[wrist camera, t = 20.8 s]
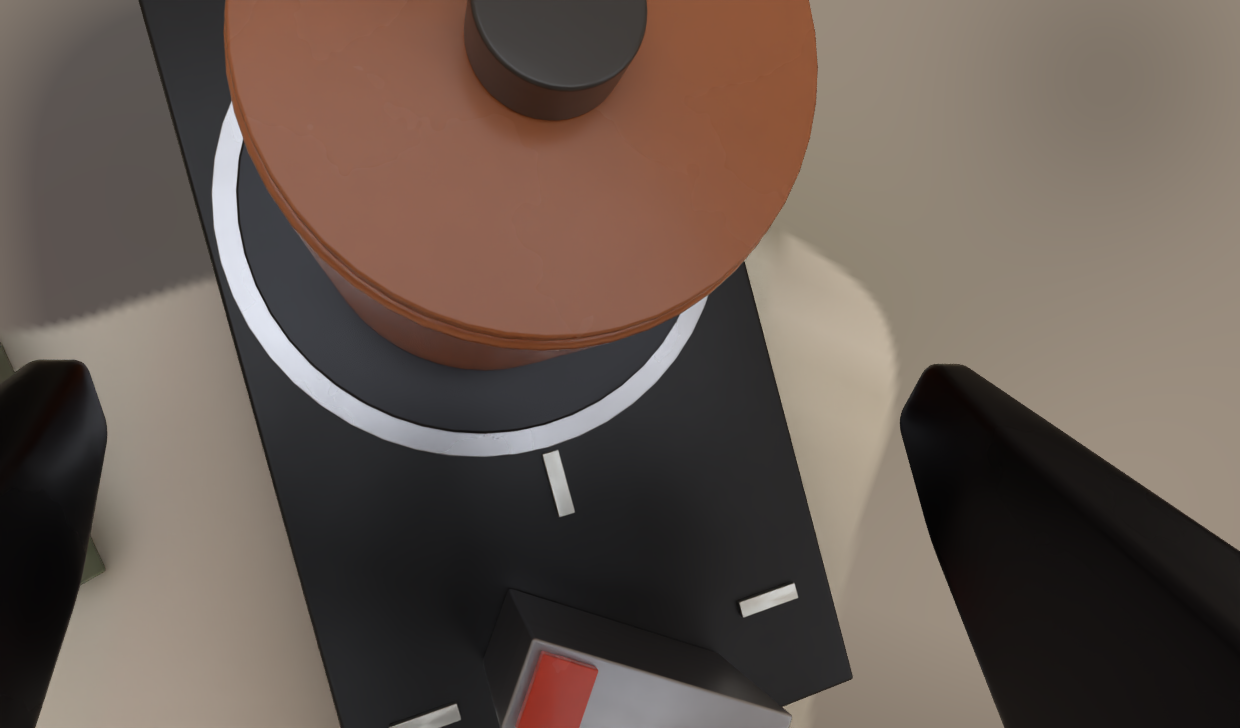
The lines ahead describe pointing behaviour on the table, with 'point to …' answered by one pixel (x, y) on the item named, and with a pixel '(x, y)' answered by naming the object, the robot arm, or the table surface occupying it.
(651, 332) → the hob plate
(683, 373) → the hob
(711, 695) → the grey and red block
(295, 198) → the pot
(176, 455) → the table surface
